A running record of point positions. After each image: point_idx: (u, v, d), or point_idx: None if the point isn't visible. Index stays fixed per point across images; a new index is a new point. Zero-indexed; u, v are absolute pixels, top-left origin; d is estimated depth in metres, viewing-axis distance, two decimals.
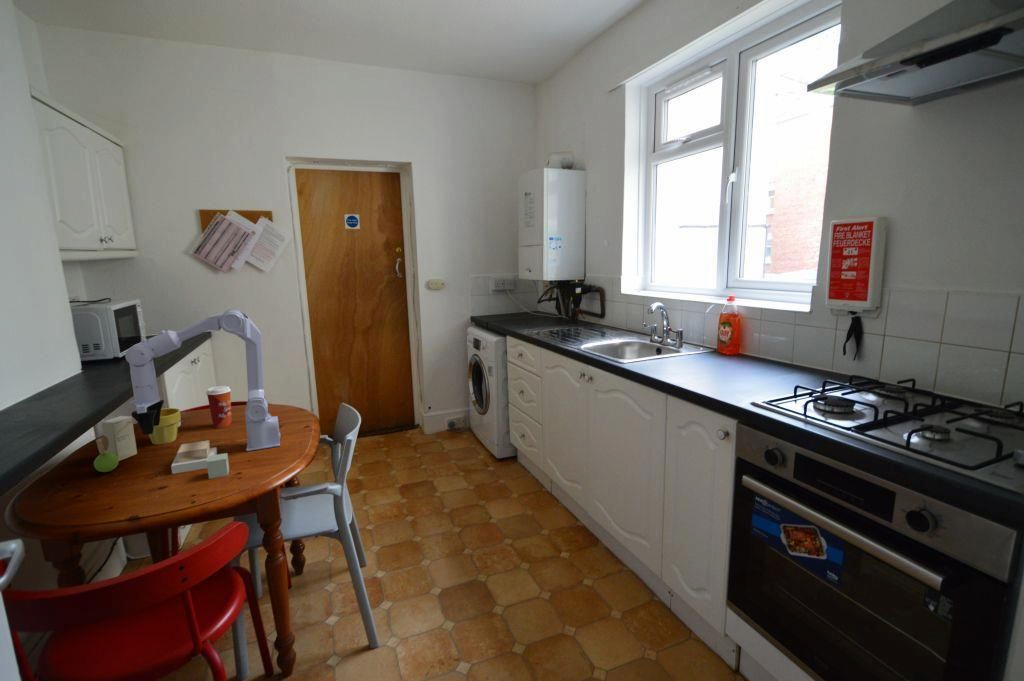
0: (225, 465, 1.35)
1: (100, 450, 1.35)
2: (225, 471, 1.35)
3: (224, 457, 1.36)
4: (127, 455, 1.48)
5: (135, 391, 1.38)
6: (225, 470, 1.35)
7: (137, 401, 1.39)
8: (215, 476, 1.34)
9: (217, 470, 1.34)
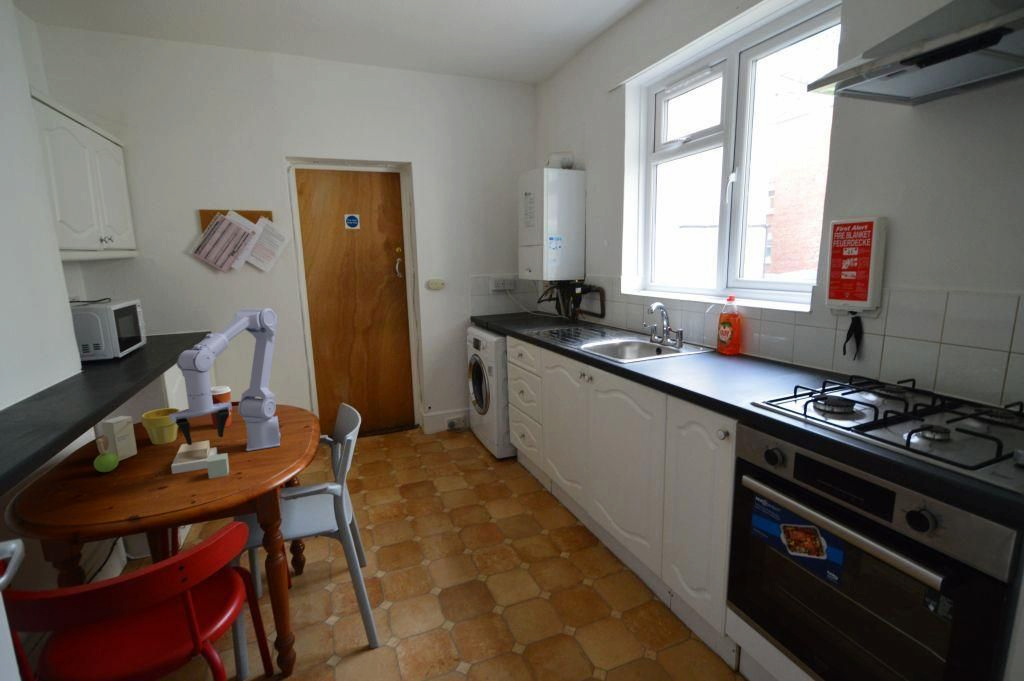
0: (225, 465, 1.35)
1: (100, 450, 1.35)
2: (225, 471, 1.35)
3: (224, 457, 1.36)
4: (127, 455, 1.48)
5: None
6: (225, 470, 1.35)
7: None
8: (215, 476, 1.34)
9: (217, 470, 1.34)
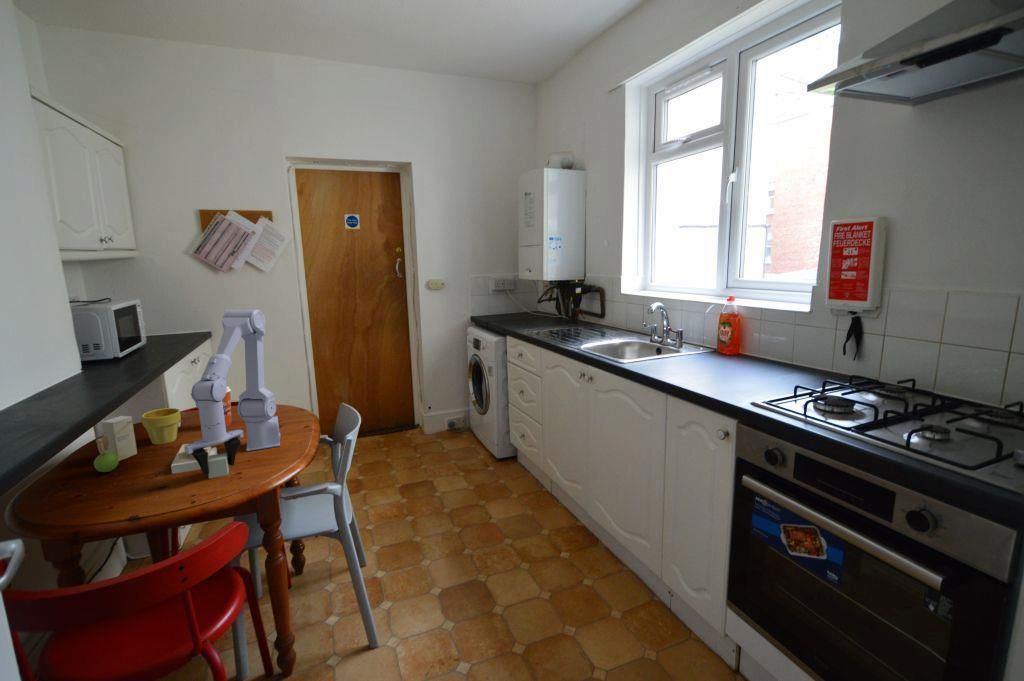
0: (225, 465, 1.35)
1: (100, 450, 1.35)
2: (225, 471, 1.35)
3: (224, 457, 1.36)
4: (127, 455, 1.48)
5: None
6: (225, 470, 1.35)
7: None
8: (215, 476, 1.34)
9: (217, 470, 1.34)
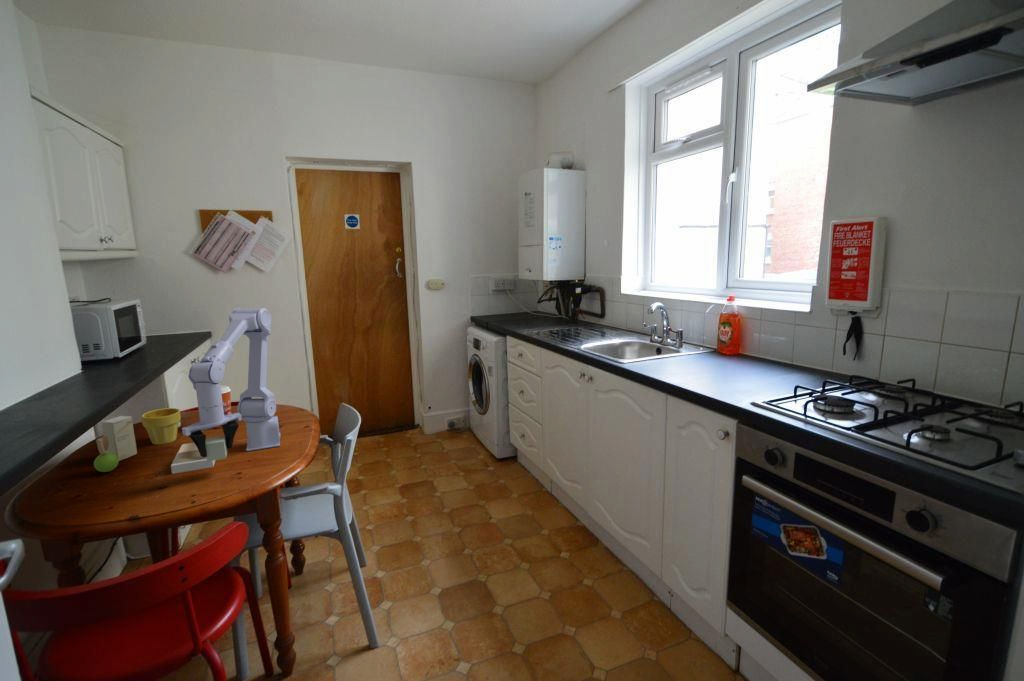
0: (223, 448, 1.34)
1: (100, 450, 1.35)
2: (223, 454, 1.34)
3: (222, 440, 1.35)
4: (127, 455, 1.48)
5: None
6: (223, 453, 1.34)
7: None
8: (213, 459, 1.33)
9: (215, 452, 1.33)
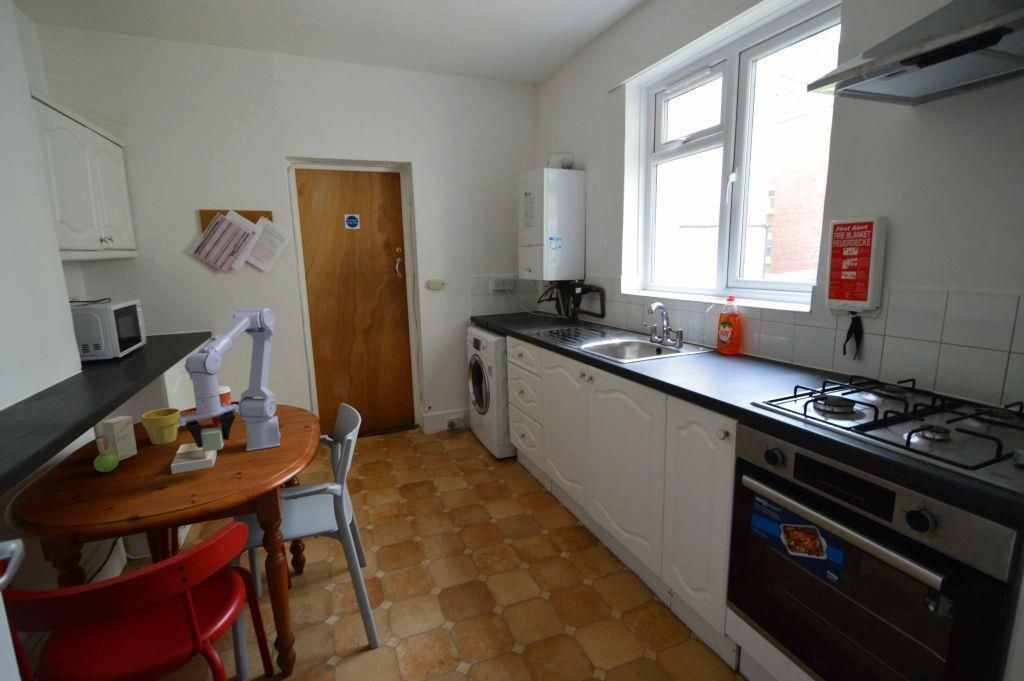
0: (219, 439, 1.34)
1: (100, 450, 1.35)
2: (219, 444, 1.34)
3: (218, 430, 1.35)
4: (127, 455, 1.48)
5: None
6: (219, 443, 1.34)
7: None
8: (209, 449, 1.34)
9: (211, 443, 1.34)
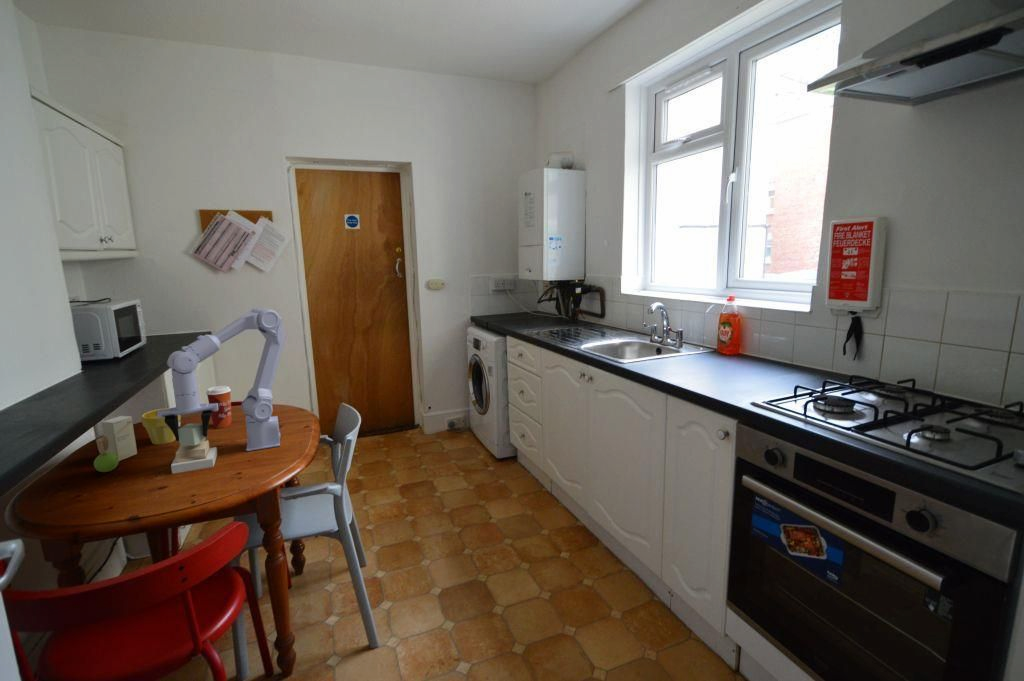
0: (193, 435, 1.39)
1: (100, 450, 1.35)
2: (192, 441, 1.40)
3: (194, 427, 1.40)
4: (127, 455, 1.48)
5: None
6: (192, 440, 1.40)
7: None
8: (184, 444, 1.40)
9: (186, 438, 1.40)
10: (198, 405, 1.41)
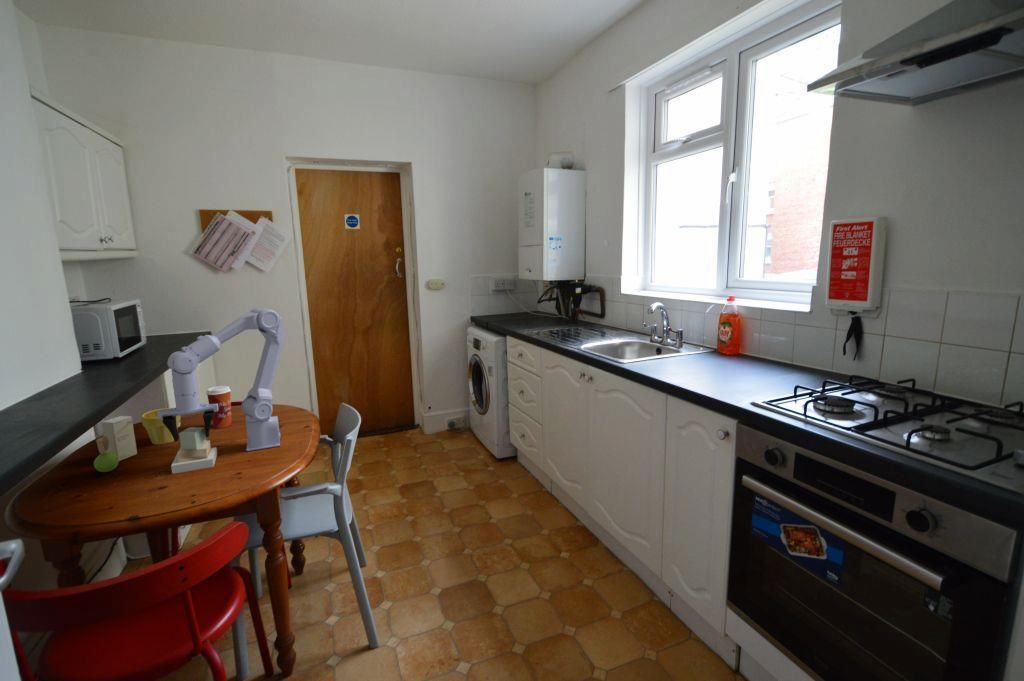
0: (194, 439, 1.40)
1: (100, 450, 1.35)
2: (194, 445, 1.40)
3: (195, 431, 1.41)
4: (127, 455, 1.48)
5: None
6: (194, 444, 1.40)
7: None
8: (186, 448, 1.40)
9: (187, 442, 1.40)
10: (198, 405, 1.41)
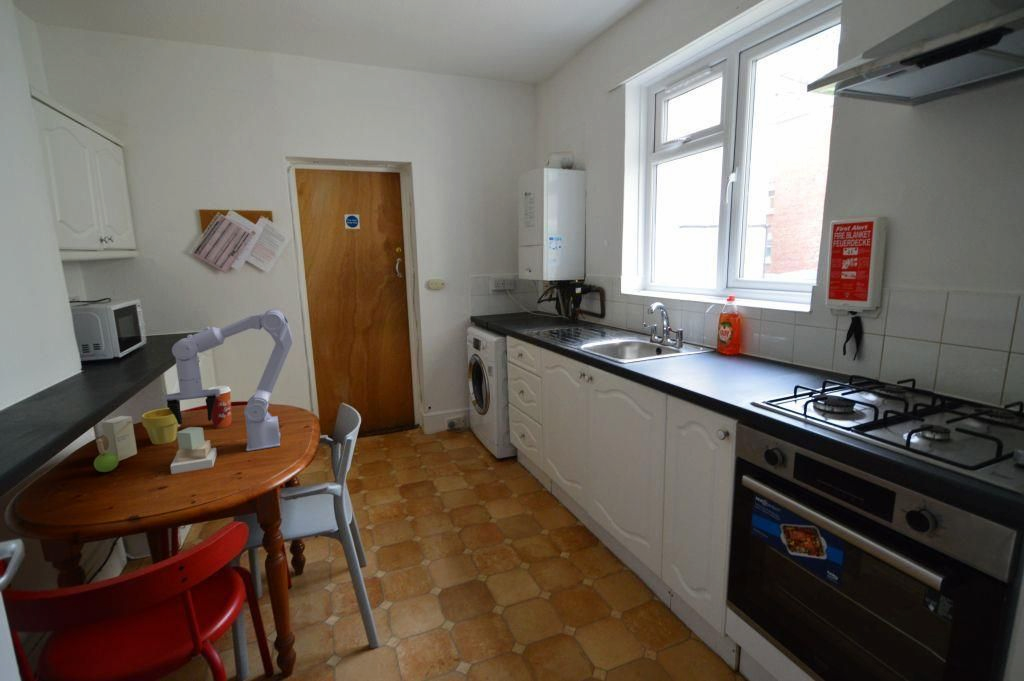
0: (190, 439, 1.40)
1: (100, 450, 1.35)
2: (190, 445, 1.40)
3: (192, 431, 1.41)
4: (127, 455, 1.48)
5: None
6: (190, 444, 1.40)
7: None
8: (183, 447, 1.41)
9: (184, 442, 1.40)
10: (201, 390, 1.47)
